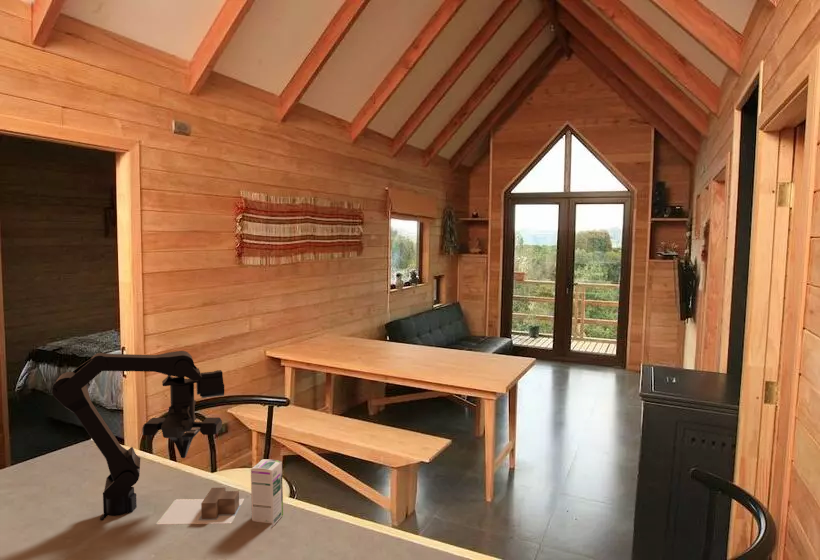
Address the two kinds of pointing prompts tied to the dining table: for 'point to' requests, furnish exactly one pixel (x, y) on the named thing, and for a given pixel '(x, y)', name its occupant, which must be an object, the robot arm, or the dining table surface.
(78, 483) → the dining table surface
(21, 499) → the dining table surface
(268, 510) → the syrup box
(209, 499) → the walnut T block
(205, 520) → the board
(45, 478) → the dining table surface
